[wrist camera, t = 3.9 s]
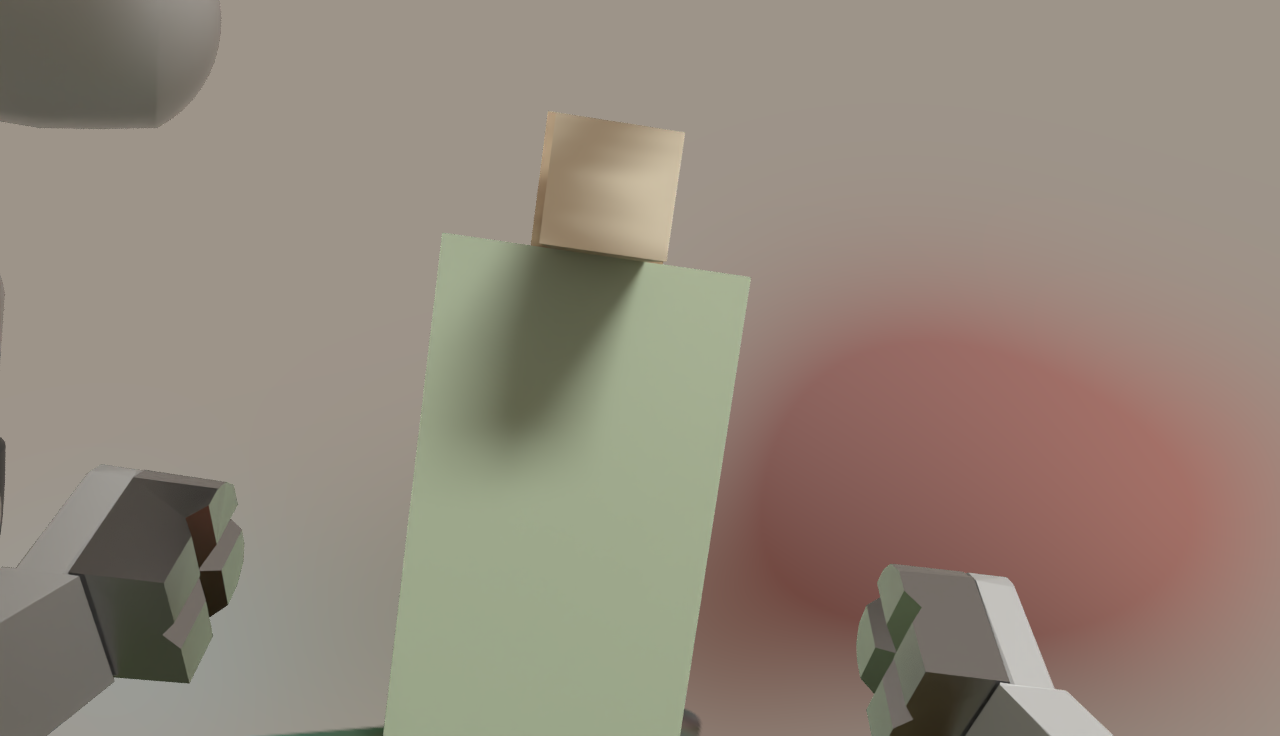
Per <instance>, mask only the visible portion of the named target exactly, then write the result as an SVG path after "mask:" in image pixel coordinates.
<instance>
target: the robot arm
mask: <svg viewBox="0 0 1280 736" xmlns="http://www.w3.org/2000/svg"><path fill="white" fill-rule="evenodd" d="M220 34H221V11H220V1H219V0H0V121H1V122H7V123H13V124H19V125H25V126H31V127H37V128H74V129H75V128H76V129H120V128H121V129H122V128H158V127H160V126H161V125H163V124H164V123H166V122H168V121H169V120H171V119H172V118H173V117H175V116H176V115H177V114H178V113H179V112H181V111H182V110H183V109H184V108H185V107H186V106H187V105H188V104H189V103H190V102H191V101H192V100H193V98H194V97H195V96H196V95H197V94H198V92H199V91H200V90H201V88H202V86H203V85H204V83H205V81H206V79H207V77H208V76H209V74H210V71H211V69H212V67H213V64H214V62H215V58H216V55H217V51H218V47H219V41H220ZM4 296H5V294H4V287H3V283H2V280H1V277H0V356H1V341H2V324H3V311H4ZM4 485H5V442H4V440H3V439H2V438H0V533H1V525H2V517H3V502H4ZM237 505H238V503H237V498H236V494H235V489H234V485H233V484H230V483H227V482H222V481H216V480H209V479H202V478H196V477H188V476H182V475H175V474H169V473H161V472H155V471H149V470H138V469H131V468H124V467H117V466H110V465H103V464H101V465H99V466H98V467H96V468H94V469H93V470H91V471H90V472H88V473H87V475H86V476H85V477H84V479H83V480H82V481H81V482H80V484H79V485H78V486H77V488H76V489H75V490H74V492H73V493H72V494H71V496H70V497H69V498H68V500H67V501H66V502H65V504H64V505H63V506H62V508H61V509H60V510H59V512H58V513H57V514H56V515H55V517H54V518H53V519H52V521H51V522H50V523H49V525H48V526H47V527H46V529H45V530H44V531H43V533H42V534H41V535H40V537H39V538H38V539H37V541H36V542H35V543H34V545H33V546H32V547H31V549H30V550H29V551H28V553H27V554H26V555H25V557H24V558H23V559H22V561H21V562H20V563H19V565H18V566H17V567H16V568H10V567H1V568H0V736H47V735H48V734H50V733H51V732H52V731H53V730H55V729H56V728H57V727H58V726H59V725H61V724H62V723H63V722H65V721H66V720H67V719H68V718H70V717H71V716H72V715H73V714H74V713H76V712H77V711H78V710H80V709H81V708H82V707H83V706H85V705H86V704H87V703H88V702H90V701H91V700H92V699H93V698H95V697H96V696H97V695H98V694H100V693H101V692H102V691H103V690H105V689H106V688H107V687H108V686H110V685H111V684H112V683H113V682H114V678H113V677H117V678H129V679H141V680H153V681H166V682H178V683H190V681H191V679H192V677H193V675H194V673H195V671H196V669H197V667H198V665H199V663H200V661H201V659H202V657H203V655H204V653H205V651H206V649H207V647H208V645H209V643H210V641H211V639H212V637H213V634H212V629H211V624H210V619H209V617H211V616H212V615H214V614H215V613H217V612H218V611H220V610H221V609H223V608H224V607H226V606H227V605H228V604H229V602H230V600H231V597H232V595H233V593H234V591H235V589H236V587H237V584H238V580H239V576H240V572H241V568H242V564H243V558H244V540H243V533H242V529H241V528H240V527H239V526H238V525H236V524H235V523H234V522H233V521H232V520H231V519H230V518H231V516H232V514H233V512H234V511H235V509H236V507H237ZM877 584H878V588H879V593H880V598H878V599H877V600H875V601H873V602H872V603H870V604H868V605H867V606H866V608H865V611H864V613H863V615H862V618H861V620H860V623H859V629H858V637H857V662H858V667H859V673H860V678H861V679H862V680H863V681H864V683H865V684H866V685H867V686H868V687H869V688H870V689H871V691H872V692H873V693H874V696H873V698H872V700H871V702H870V704H869V706H868V708H867V715H868V720H869V724H870V730H871V735H872V736H1113V735H1112V734H1111V733H1110V732H1109V731H1108V730H1107V729H1106V728H1105V727H1104V726H1103V725H1102V724H1101V723H1100V722H1099V721H1098V720H1096V719H1095V718H1094V717H1093V716H1092V715H1091V714H1090V713H1089V712H1088V711H1087V710H1086V709H1085V708H1084V707H1083V706H1082V705H1081V704H1080V703H1079V702H1078V701H1077V700H1075V699H1074V698H1073V697H1072V696H1071V695H1070V694H1069V693H1068V692H1067V691H1065V690H1058V689H1055V688H1054V686H1053V683H1052V681H1051V678H1050V676H1049V673H1048V671H1047V668H1046V666H1045V663H1044V661H1043V658H1042V656H1041V653H1040V650H1039V648H1038V646H1037V643H1036V641H1035V638H1034V635H1033V633H1032V631H1031V628H1030V625H1029V623H1028V620H1027V618H1026V615H1025V613H1024V611H1023V608H1022V605H1021V603H1020V600H1019V597H1018V595H1017V592H1016V590H1015V587H1014V585H1013V584H1012V582H1010V580H1009V579H1007V578H1006V577H999V576H991V575H981V574H974V573H964V572H959V571H950V570H941V569H932V568H923V567H915V566H906V565H897V564H890V565H889V566H887V567H886V568H885V569H884V570H883V572H882V574H881V576H880V578H879V580H878V582H877Z"/></svg>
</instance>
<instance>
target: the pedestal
mask: <svg viewBox="0 0 1280 736" xmlns="http://www.w3.org/2000/svg"><path fill="white" fill-rule="evenodd" d="M750 280H751V277H746V276H739V275H732V274H725V273H718V272H711V271H703V270H697V269H690V268H683V267H676V266H669V265H663V264H656V263H649V262H642V261H635V260H628V259H621V258H614V257H607V256H600V255H593V254H586V253H579V252H572V251H566V250H559V249H552V248H545V247H538V246H531V245H524V244H517V243H510V242H503V241H496V240H489V239H482V238H476V237H468V236H462V235H455V234H447V233H442V240H441V249H440V257H439V266H438V274H437V283H436V291H435V300H434V308H433V317H432V325H431V334H430V342H429V350H428V359H427V367H426V376H425V384H424V393H423V402H422V410H421V418H420V427H419V435H418V444H417V452H416V461H415V469H414V478H413V486H412V495H411V503H410V512H409V520H408V529H407V537H406V546H405V554H404V562H403V571H402V580H401V589H400V596H399V605H398V613H397V622H396V630H395V640H394V647H393V656H392V665H391V673H390V681H389V690H388V699H387V707H386V715H385V723H384V732H383V736H680V731H681V725H682V719H683V712H684V706H685V699H686V692H687V686H688V679H689V673H690V667H691V661H692V654H693V648H694V641H695V634H696V628H697V622H698V615H699V609H700V603H701V596H702V589H703V583H704V577H705V570H706V564H707V557H708V551H709V544H710V538H711V531H712V525H713V518H714V512H715V506H716V499H717V493H718V487H719V480H720V474H721V466H722V461H723V454H724V448H725V441H726V435H727V429H728V422H729V416H730V409H731V403H732V396H733V390H734V383H735V377H736V371H737V364H738V357H739V351H740V345H741V338H742V332H743V325H744V319H745V313H746V306H747V299H748V293H749V286H750Z"/></svg>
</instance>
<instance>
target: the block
mask: <svg viewBox="0 0 1280 736" xmlns="http://www.w3.org/2000/svg"><path fill="white" fill-rule="evenodd" d="M684 137H685V132H678V131H672V130H666V129H660V128H653V127H647V126H641V125H634V124H628V123H621V122H615V121H608V120H602V119H596V118H589V117H582V116H576V115H570V114H563V113H557V112H549V111H548V116H547V125H546V132H545V139H544V147H543V155H542V163H541V171H540V178H539V186H538V194H537V201H536V209H535V217H534V225H533V232H532V240H531V246H538V247H545V248H552V249H559V250H566V251H572V252H579V253H586V254H593V255H600V256H607V257H614V258H621V259H628V260H635V261H642V262H649V263H656V264H663V262H666V261H667V254H668V247H669V241H670V233H671V227H672V220H673V212H674V206H675V199H676V192H677V185H678V178H679V171H680V164H681V157H682V151H683V143H684Z"/></svg>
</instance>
